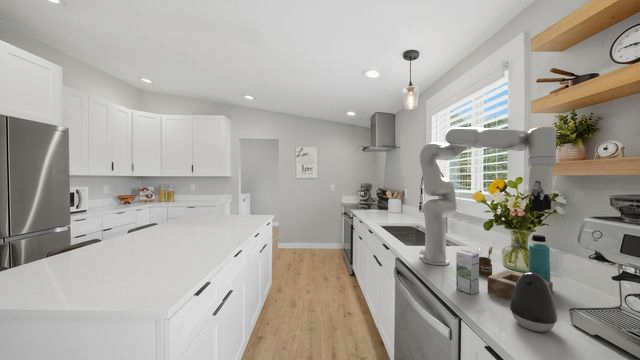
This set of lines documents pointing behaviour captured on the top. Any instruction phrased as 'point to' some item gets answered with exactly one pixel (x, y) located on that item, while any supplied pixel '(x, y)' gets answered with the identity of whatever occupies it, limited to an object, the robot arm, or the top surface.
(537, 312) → the dark grey egg shape
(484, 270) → the brown jar with stick
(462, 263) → the syrup box
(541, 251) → the beverage bottle
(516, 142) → the robot arm
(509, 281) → the wooden tray
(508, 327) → the top surface
